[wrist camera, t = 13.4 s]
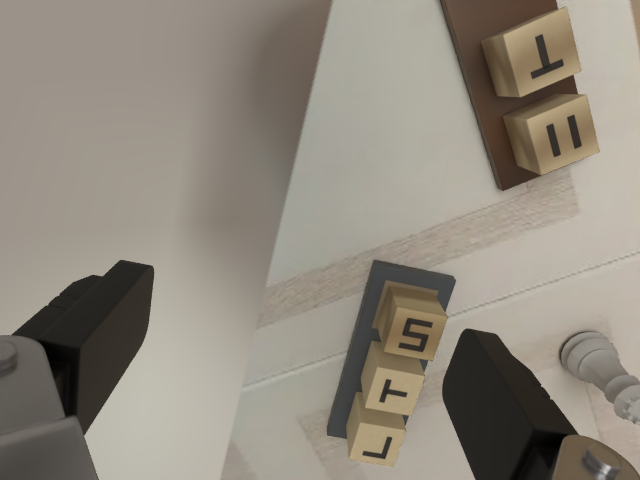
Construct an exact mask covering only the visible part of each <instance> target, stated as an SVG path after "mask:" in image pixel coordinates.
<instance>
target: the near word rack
mask: <svg viewBox="0 0 640 480" xmlns="http://www.w3.org/2000/svg"><path fill="white" fill-rule="evenodd" d="M440 1H441V4H442V8H443V11H444V14H445V17H446V21H447V24H448V27H449V30H450V34H451V37H452V40H453V43H454V46H455V50H456V53H457V56H458V59H459V63H460V66H461V69H462V72H463V76H464V79H465V82H466V85H467V89H468V92H469V95H470V98H471V101H472V105H473V108H474V111H475V114H476V118H477V121H478V124H479V127H480V131H481V134H482V137H483V140H484V143H485V147H486V150H487V153H488V156H489V160H490V163H491V166H492V169H493V173H494V176H495V179H496V182H497V185H498V188H499V189H501V190H503V191H504V190H507V189H509V188H512V187H514V186H516V185H519V184H521V183H524V182H526V181H529V180H531V179H534V178H536V177H539V176H541V175H544V174H546V173H549V172H551V171H554V170H556V169H558V168H561V167H563V166H566V165H568V164H571V163H573V162H576V161H578V160H581V159H583V158H586V157H588V156H591V155H593V154H595V153H598V152H599V147H598V142H597V138H596V133H595V129H594V125H593V120H592V116H591V111H590V107H589V103H588V98H587V95H582V94H578V92H577V88H576V84H575V79H574V74H576V73H578V72H581V67H580V62H579V58H578V53H577V49H576V45H575V40H574V36H573V31H572V27H571V23H570V18H569V14H568V9H567V7H563V8H560V9H558V7H557V2H556V0H440Z"/></svg>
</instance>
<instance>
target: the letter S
mask: <svg viewBox="0 0 640 480" xmlns="http://www.w3.org/2000/svg"><path fill="white" fill-rule="evenodd" d="M447 318H448V317H447V315H446V313H445V311H444V310H443V308H442V306H441V304H440V303H439V301H438V299H437V297H436V295H435V294H431V293H426V292H421V291H416V290H411V289H406V288H401V287H396V286H391V285H389V288H388V291H387V295H386V298H385V301H384V305H383V308H382V312H381V315H380V318H379V322H378V325H377V327H378V331H379V335H380V339H381V343H382V347H383V351H384V352H387V353H392V354H398V355H403V356H408V357H414V358H419V359H424V360H429V361H433V358H434V355H435V352H436V349H437V347H438V344H439V341H440V338H441V335H442V332H443V329H444V327H445V324H446V321H447Z"/></svg>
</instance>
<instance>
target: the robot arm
mask: <svg viewBox="0 0 640 480" xmlns="http://www.w3.org/2000/svg"><path fill="white" fill-rule="evenodd" d="M153 280H154V268H153V266H151V265H145V264H140V263H135V262H130V261H125V260H120V261H119V262H118V263H116V264H115V266H113V267H112V268H111V269H110V270H109V271H108V272H107V273H106V274H105V275H104V276H103V277H102V276H97V275H91V276H89V277H86V278H83V279H81V280H78V281H76V282H73V283H72V284H71V285H69V286H68V287H67V288H66V289H65V290H64V291H62V293H60V295H59V296H57V297H55V298H54V299H53V300H52V301H51V302H50V303H49V305H48V306H45V307H44V308H42V309H41V310H40V311H39V312H38V313H37V314H36V315H34V316H33V317H32V318H31V319H30V320H28V321H27V322H26V323H25V324H24V325H22V326H21V327H20V328H19V329H18V330H17V331H15V332H14V333H13V334H12V335H3V336H2V335H1V336H0V480H99V479H98V476H97V473H96V471H95V468H94V464H93V462H92V458H91V455H90V453H89V449H88V446H87V444H86V440H85V438H84V435H85V434H86V432H87V430H88V429H89V427H90V425H91V424H92V423H93V421H94V419H95V418H96V416H97V414H98V413H99V412H100V410H101V408H102V407H103V405H104V404H105V402H106V400H107V399H108V397H109V396H110V394H111V393H112V391H113V390H114V388H115V386H116V385H117V383H118V382H119V380H120V379H121V377H122V376H123V374H124V372H125V371H126V369H127V368H128V366H129V364H130V363H131V361H132V360H133V358H134V357H135V355H136V353H137V352H138V350H139V349H140V347H141V345H142V343H143V341H144V338H145V335H146V332H147V328H148V324H149V316H150V307H151V298H152V289H153ZM442 396H443V401H444V404H445V406H446V409H447V411H448V414H449V416H450V419H451V421H452V423H453V426H454V428H455V431H456V433H457V436H458V438H459V441H460V443H461V445H462V448H463V450H464V453H465V455H466V458H467V460H468V463H469V465H470V467H471V470H472V472H473V475H474V477H475V480H640V475H639V474H638V472H637V471H636V470H635V468H634V467H633V466H632V465H631V464H630V463H629V462H628V461H627V460H626V459H625V458H623V457H622V456H621V455H620V454H618V453H617V452H616V451H614V450H613V449H611V448H610V447H608V446H606V445H605V444H603V443H601V442H599V441H597V440H594V439H592V438H589V437H586V436H581V435H579V434H578V433H577V432H576V430H575V429H574V428H573V426H572V425H571V424H570V422H569V421H568V420H567V418H566V417H565V416H564V414H563V413H562V412H561V410H560V409H559V408H558V406H557V405H556V404H555V402H554V401H553V400H552V399H550V396H549V394H548V393H547V392H546V390H545V389H544V388H543V387H541V384H540V382H539V381H538V380H537V378H536V377H535V376H534V374H533V373H532V372H531V370H530V369H528V368H527V367H526V366H525V365H524V364H522V363H521V362H520V361H519V360H517V359H516V358H515V357H514V356H512V354H511V353H510V352H509V350H508V349H507V347H506V346H505V345H504V343H503V342H502V341H501V339H500V338H499V336H498V335H496V334H494V333H489V332H484V331H479V330H473V329H465V330H464V331H463V332H462V334H461V335H460V338H459V340H458V343H457V345H456V348H455V351H454V353H453V356H452V358H451V361H450V364H449V366H448V369H447V371H446V374H445V377H444V380H443V387H442Z"/></svg>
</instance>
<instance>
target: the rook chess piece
mask: <svg viewBox="0 0 640 480" xmlns="http://www.w3.org/2000/svg"><path fill="white" fill-rule="evenodd" d="M561 358H562V364H563V365H564V367H565V368H566V369H567V370H568V371H570V372H571V374H572V375H573V376H575V377H577V378H578V379H580V380H582V381H587V382H588V383H593V384H594V385H595V386H597V387H598V388H599V389H600V390H602V391H603V392H604V393H605V397H606V399H607V400H608V401H609V402H611V403H613V404H614V411H615V413H616V414H617V416H619V417H621V418H622V419H627V420H629V421H632V422H633V423H634V424H637V425H640V382H639V380H638V379H637V378H636V377H634V376H632V375H629V374H628V373H627V372H626V371H625V369H624V368H623V367H622V365H621V364H620V359H619V358H618V352H617V351H616V349H615V347H614V345H613V344H612V343H611V342H609V340H608V339H607V337H605V336H603V335H602V334H600V333H595V332H585V333H580V334H577V335H575V336H574V337H572V338H570V339H569V340H568V341H567V343H566V344H565V345H564V348H563V350H562V354H561Z"/></svg>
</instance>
